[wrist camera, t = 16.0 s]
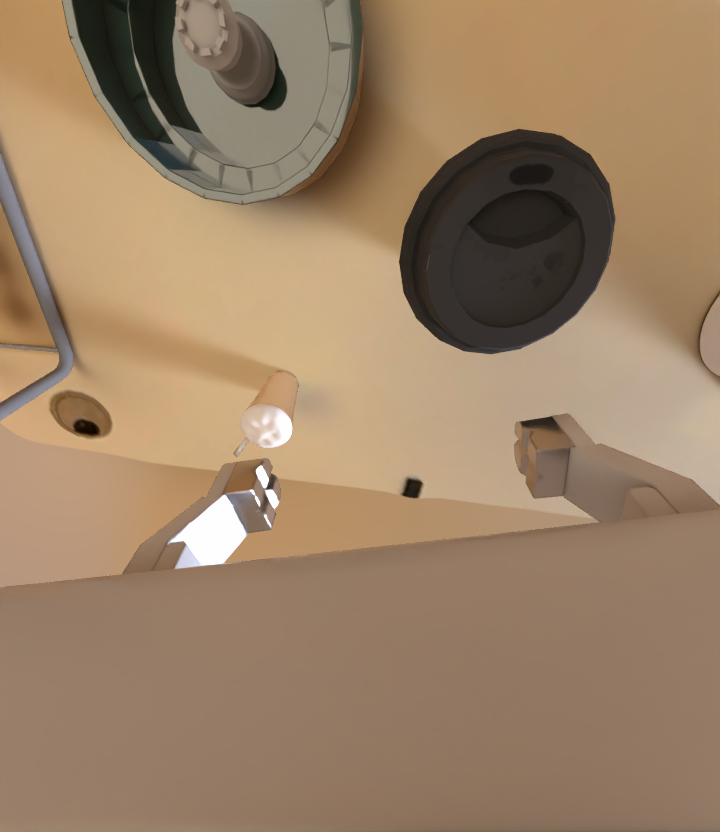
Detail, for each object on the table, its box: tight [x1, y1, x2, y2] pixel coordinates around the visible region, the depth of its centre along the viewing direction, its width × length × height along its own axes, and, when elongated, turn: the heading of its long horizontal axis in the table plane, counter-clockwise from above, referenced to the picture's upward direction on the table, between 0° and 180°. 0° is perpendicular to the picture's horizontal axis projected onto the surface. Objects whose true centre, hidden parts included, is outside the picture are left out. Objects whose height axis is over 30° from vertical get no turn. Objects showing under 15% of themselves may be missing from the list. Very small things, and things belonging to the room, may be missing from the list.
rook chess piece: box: [175, 0, 276, 105], centre depth 22 cm, size 4×4×8 cm
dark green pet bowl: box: [62, 0, 364, 205], centre depth 23 cm, size 16×16×6 cm
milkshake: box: [234, 371, 299, 457], centre depth 35 cm, size 4×5×10 cm
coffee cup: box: [399, 129, 615, 354], centre depth 25 cm, size 11×11×15 cm
